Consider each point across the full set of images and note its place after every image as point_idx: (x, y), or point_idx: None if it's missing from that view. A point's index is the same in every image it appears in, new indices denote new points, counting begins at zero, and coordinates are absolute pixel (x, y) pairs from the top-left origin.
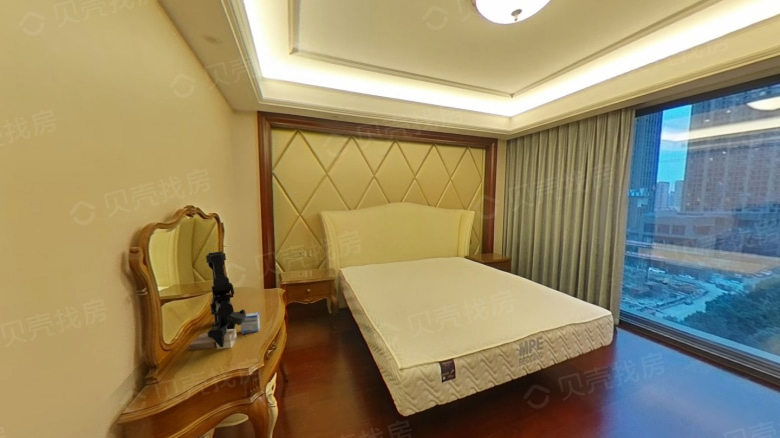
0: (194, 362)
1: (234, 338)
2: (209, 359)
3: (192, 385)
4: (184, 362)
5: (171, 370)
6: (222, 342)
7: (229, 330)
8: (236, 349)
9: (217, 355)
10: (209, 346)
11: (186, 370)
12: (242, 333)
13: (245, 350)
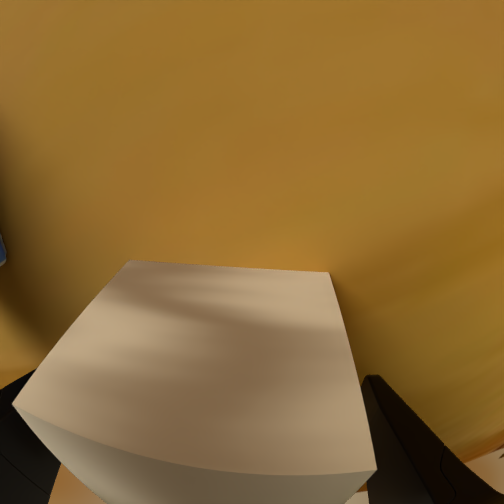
0: (445, 431)
1: (169, 309)
2: (471, 374)
3: None
4: None
5: None
6: (426, 429)
7: (105, 480)
8: (406, 170)
9: (446, 347)
10: None
11: (500, 415)
12: (3, 252)
13: (454, 34)
